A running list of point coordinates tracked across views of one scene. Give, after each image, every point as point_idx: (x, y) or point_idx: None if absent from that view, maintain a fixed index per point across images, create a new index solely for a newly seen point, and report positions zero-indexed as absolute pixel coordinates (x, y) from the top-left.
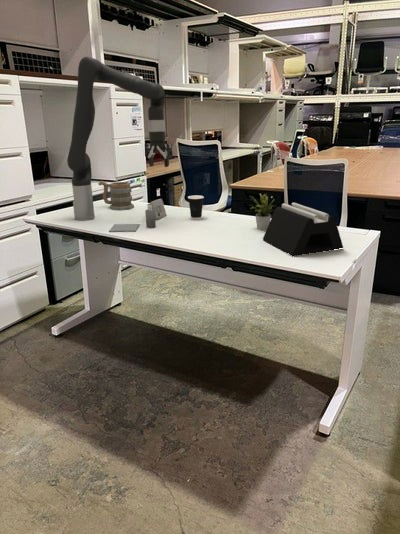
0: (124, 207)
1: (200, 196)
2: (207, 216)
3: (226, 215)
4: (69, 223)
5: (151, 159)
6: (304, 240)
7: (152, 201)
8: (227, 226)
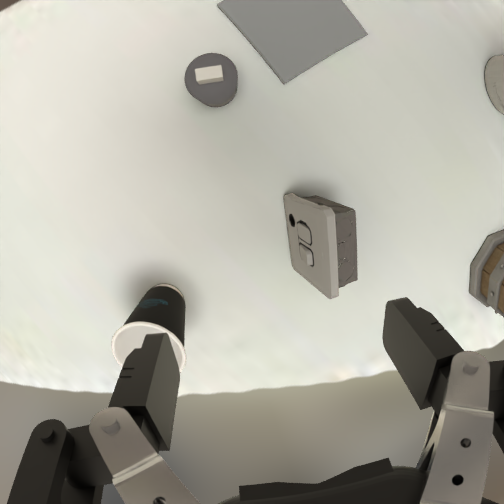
0: (484, 252)
1: None
2: None
3: None
4: (490, 15)
5: (423, 366)
6: None
7: (327, 219)
8: (23, 270)
